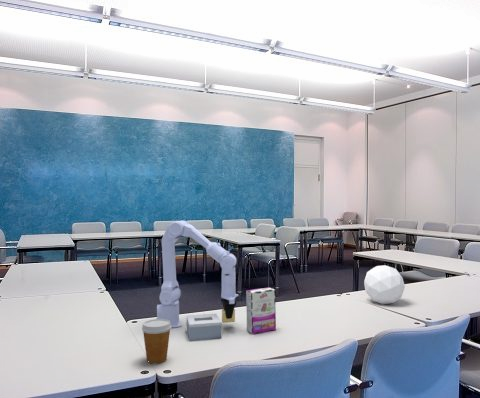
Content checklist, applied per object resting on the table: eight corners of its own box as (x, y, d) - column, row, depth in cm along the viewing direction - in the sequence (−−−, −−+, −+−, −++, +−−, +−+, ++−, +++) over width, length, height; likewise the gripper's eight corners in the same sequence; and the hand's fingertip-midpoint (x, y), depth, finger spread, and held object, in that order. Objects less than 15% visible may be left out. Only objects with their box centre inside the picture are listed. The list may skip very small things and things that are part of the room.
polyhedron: (391, 314, 198) (415, 284, 198) (383, 309, 183) (409, 275, 182) (361, 291, 210) (384, 262, 210) (351, 284, 194) (375, 253, 194)
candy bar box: (269, 326, 158) (269, 286, 159) (276, 330, 154) (276, 289, 154) (245, 331, 153) (245, 289, 153) (251, 334, 149) (251, 292, 149)
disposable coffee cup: (144, 354, 129) (144, 319, 129) (172, 353, 130) (172, 318, 130) (139, 366, 120) (139, 327, 120) (170, 365, 121) (170, 326, 121)
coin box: (189, 340, 142) (189, 324, 142) (186, 330, 154) (186, 315, 154) (221, 338, 145) (221, 322, 145) (216, 328, 157) (216, 313, 157)
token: (222, 322, 155) (222, 310, 155) (221, 321, 157) (221, 309, 157) (234, 322, 156) (234, 309, 156) (233, 320, 158) (233, 308, 158)
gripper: (242, 287, 151) (242, 322, 151) (234, 280, 165) (234, 312, 165) (224, 288, 149) (224, 323, 149) (218, 280, 163) (218, 313, 163)
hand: (228, 317), depth 157 cm, fingers closed on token, 2 cm apart
